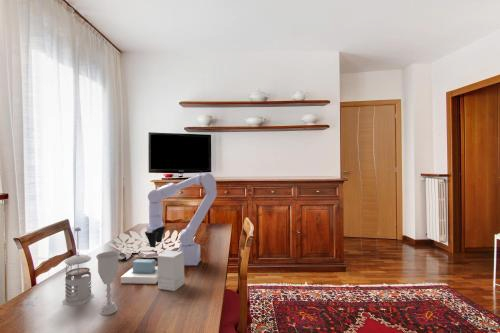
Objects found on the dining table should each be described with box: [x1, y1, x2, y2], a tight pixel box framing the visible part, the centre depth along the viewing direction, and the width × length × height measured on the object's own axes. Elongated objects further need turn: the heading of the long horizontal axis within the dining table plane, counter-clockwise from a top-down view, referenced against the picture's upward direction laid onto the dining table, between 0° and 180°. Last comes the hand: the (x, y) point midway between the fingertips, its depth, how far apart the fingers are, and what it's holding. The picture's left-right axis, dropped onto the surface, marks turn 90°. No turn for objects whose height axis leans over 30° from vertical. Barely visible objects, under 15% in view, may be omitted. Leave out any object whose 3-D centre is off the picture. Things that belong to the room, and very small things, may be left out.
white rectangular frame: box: [120, 265, 158, 285], centre depth 119 cm, size 14×12×2 cm
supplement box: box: [157, 249, 185, 292], centre depth 110 cm, size 7×7×13 cm
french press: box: [61, 227, 95, 307], centre depth 101 cm, size 10×12×25 cm
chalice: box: [95, 250, 121, 316], centre depth 92 cm, size 7×7×18 cm
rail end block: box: [132, 258, 156, 274], centre depth 119 cm, size 8×4×7 cm, turn 87°
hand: (155, 244), depth 134 cm, fingers open, 7 cm apart
